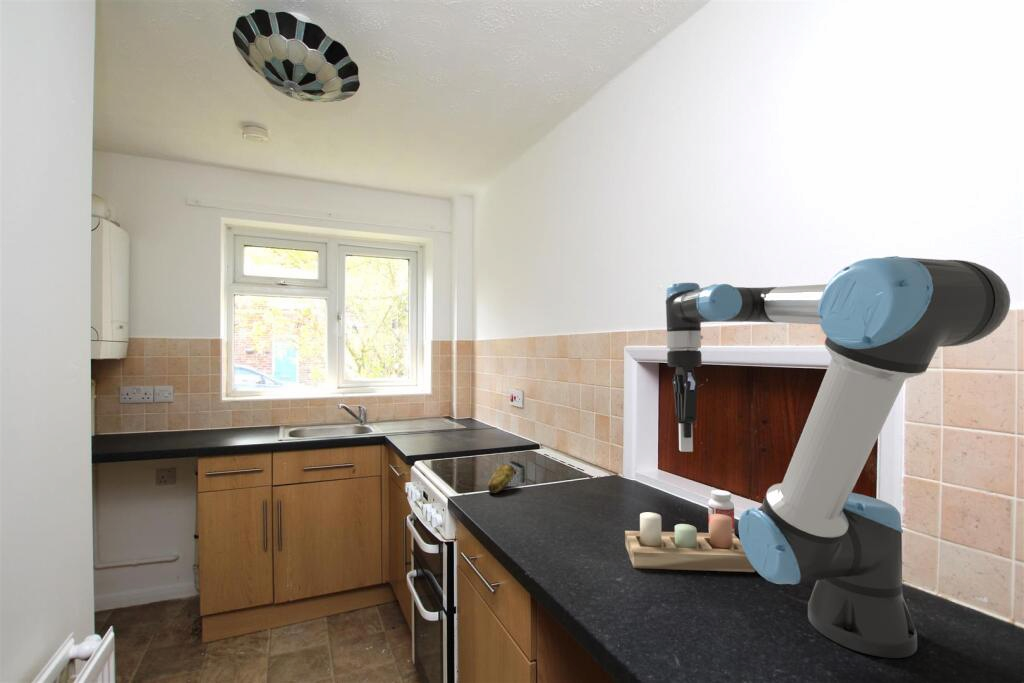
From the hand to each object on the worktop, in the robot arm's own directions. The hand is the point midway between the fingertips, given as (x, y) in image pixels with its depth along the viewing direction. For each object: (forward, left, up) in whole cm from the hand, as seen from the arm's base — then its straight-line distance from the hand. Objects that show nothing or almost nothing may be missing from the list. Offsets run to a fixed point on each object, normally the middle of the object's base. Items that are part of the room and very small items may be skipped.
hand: (686, 450), depth 108 cm
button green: (0, 0, -24) cm, 24 cm away
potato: (+48, +49, -25) cm, 73 cm away
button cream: (0, +8, -22) cm, 23 cm away
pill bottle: (+14, -13, -25) cm, 32 cm away
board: (0, 0, -25) cm, 25 cm away
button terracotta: (0, -8, -22) cm, 23 cm away
